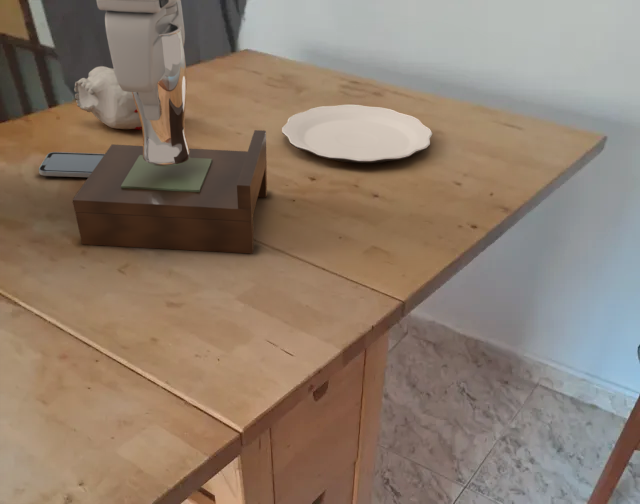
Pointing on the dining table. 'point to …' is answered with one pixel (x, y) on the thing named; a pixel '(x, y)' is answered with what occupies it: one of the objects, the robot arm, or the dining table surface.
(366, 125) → the plate
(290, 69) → the dining table surface
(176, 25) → the beer glass
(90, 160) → the smartphone
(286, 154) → the dining table surface
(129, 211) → the shelf
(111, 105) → the white irregular lump
